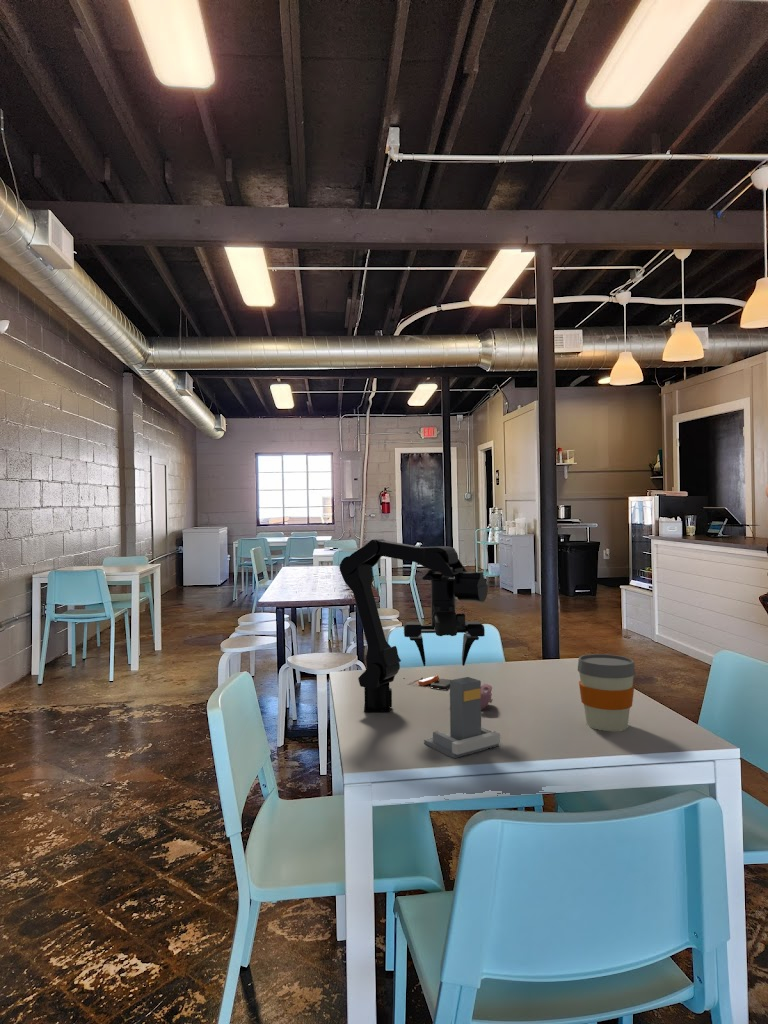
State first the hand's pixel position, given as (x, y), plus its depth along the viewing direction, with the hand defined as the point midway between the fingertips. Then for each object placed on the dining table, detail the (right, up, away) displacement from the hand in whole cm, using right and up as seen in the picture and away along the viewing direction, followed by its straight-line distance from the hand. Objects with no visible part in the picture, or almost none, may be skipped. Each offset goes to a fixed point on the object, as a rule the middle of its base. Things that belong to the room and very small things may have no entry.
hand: (443, 665), depth 148 cm
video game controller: (+10, -13, +10) cm, 20 cm away
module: (+3, -12, -17) cm, 21 cm away
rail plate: (+2, -13, -16) cm, 21 cm away
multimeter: (-4, -14, +33) cm, 36 cm away
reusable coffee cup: (+37, -13, -4) cm, 39 cm away
